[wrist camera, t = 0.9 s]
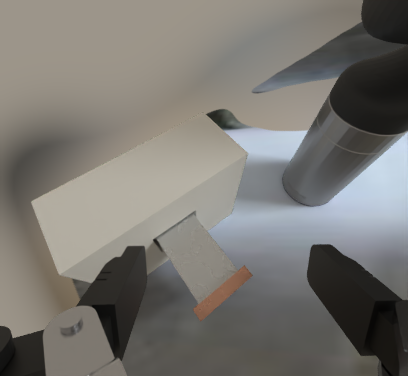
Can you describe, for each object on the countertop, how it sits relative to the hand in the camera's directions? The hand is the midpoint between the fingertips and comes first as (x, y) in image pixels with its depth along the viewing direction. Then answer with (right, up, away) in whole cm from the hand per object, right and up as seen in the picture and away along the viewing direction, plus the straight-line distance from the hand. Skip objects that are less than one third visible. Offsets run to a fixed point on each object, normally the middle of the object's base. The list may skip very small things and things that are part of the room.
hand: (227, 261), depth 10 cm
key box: (-7, -3, +25) cm, 26 cm away
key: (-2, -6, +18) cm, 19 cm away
